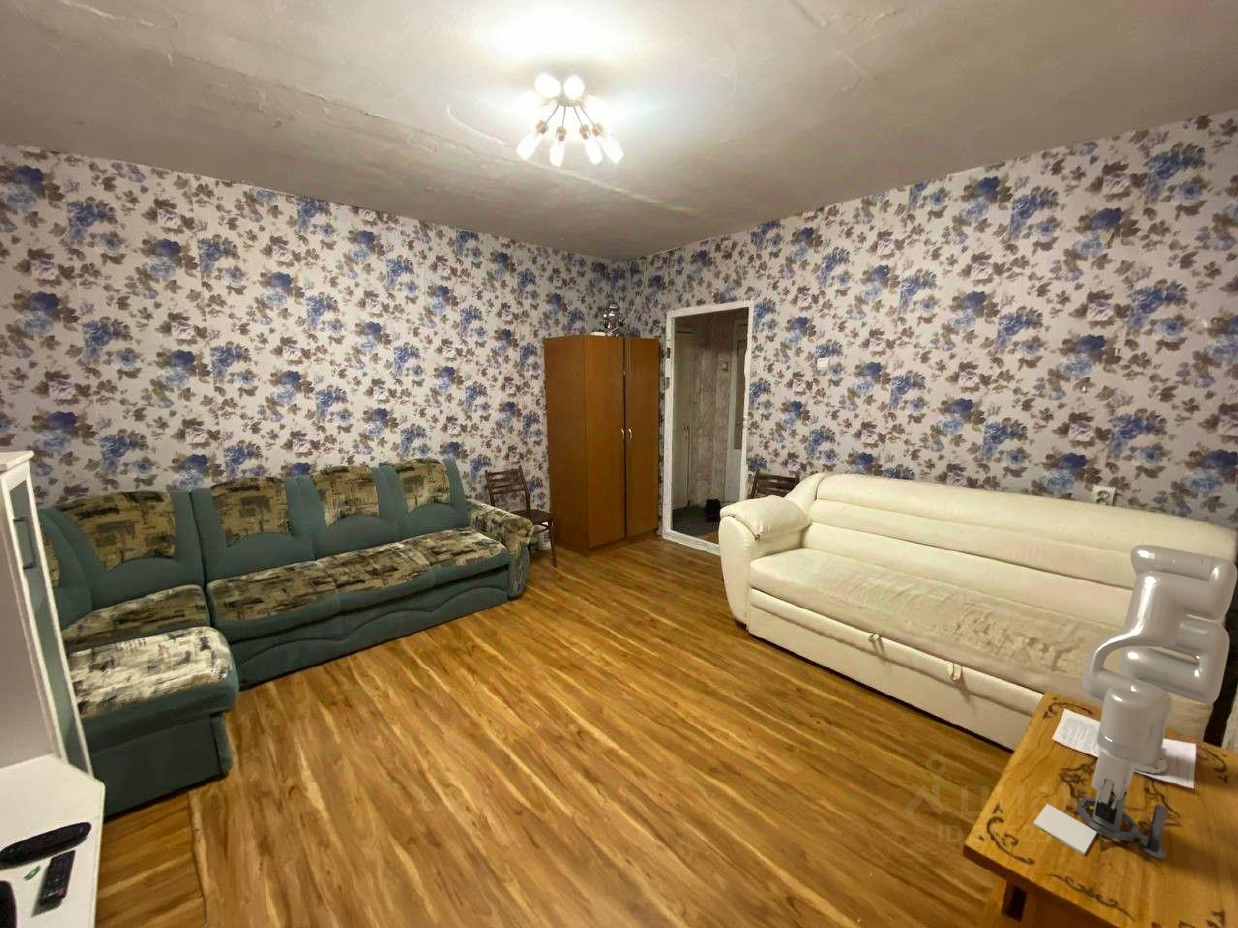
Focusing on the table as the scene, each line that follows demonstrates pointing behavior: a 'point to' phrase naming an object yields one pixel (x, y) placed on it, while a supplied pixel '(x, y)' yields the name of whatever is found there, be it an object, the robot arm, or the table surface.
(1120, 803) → the gray hollow cylinder
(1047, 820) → the coaster
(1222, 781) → the table surface
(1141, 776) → the table surface
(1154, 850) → the ring stand
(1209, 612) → the robot arm
